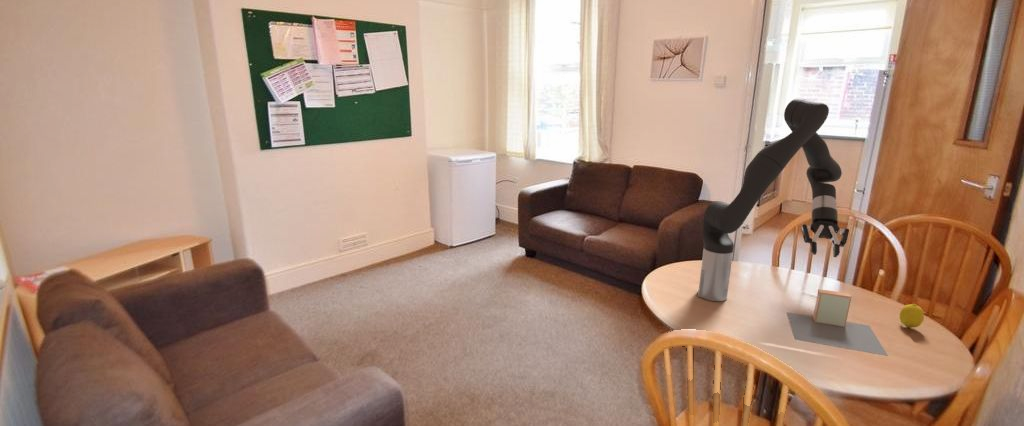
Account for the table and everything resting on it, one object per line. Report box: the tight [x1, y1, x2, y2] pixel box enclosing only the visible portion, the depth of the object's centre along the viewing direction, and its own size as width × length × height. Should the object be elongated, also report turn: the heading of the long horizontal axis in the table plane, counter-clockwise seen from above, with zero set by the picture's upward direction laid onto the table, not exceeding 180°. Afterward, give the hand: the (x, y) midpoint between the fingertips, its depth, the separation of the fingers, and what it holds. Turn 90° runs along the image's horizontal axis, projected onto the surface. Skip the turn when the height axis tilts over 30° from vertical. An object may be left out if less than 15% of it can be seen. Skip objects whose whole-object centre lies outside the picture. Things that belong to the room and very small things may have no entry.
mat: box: [786, 311, 889, 357], centre depth 140 cm, size 22×18×1 cm
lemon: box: [899, 303, 925, 329], centre depth 142 cm, size 6×6×8 cm
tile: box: [813, 288, 852, 327], centre depth 144 cm, size 8×3×10 cm, turn 67°
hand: (825, 254), depth 158 cm, fingers open, 5 cm apart
